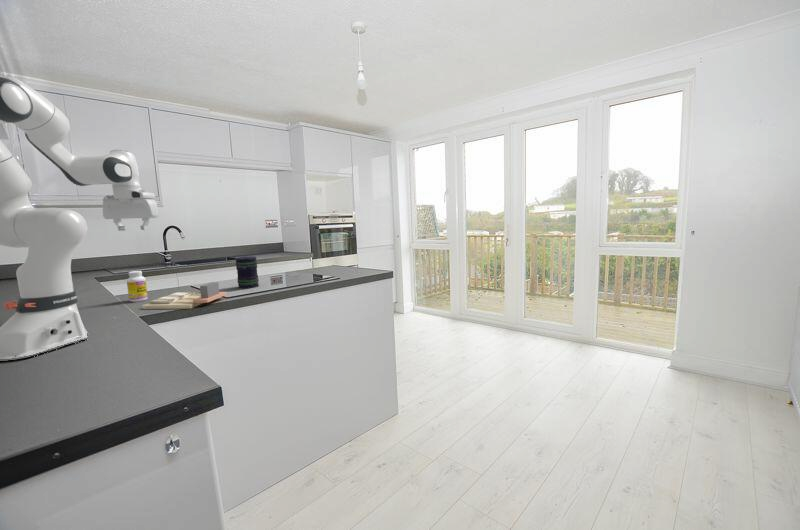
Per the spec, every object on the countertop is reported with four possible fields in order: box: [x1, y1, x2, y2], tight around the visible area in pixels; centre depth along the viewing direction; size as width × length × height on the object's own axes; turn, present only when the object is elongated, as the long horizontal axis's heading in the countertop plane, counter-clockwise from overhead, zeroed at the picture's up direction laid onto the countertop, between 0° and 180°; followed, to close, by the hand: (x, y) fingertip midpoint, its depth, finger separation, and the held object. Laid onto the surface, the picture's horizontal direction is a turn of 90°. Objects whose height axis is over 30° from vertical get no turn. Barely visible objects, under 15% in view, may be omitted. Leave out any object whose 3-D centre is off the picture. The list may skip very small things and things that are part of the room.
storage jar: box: [235, 256, 260, 290], centre depth 177 cm, size 10×10×15 cm
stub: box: [193, 281, 228, 304], centre depth 147 cm, size 14×6×6 cm, turn 177°
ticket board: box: [141, 291, 204, 310], centre depth 148 cm, size 20×20×3 cm
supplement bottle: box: [126, 270, 148, 303], centre depth 154 cm, size 7×7×13 cm
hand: (133, 230), depth 138 cm, fingers open, 8 cm apart
